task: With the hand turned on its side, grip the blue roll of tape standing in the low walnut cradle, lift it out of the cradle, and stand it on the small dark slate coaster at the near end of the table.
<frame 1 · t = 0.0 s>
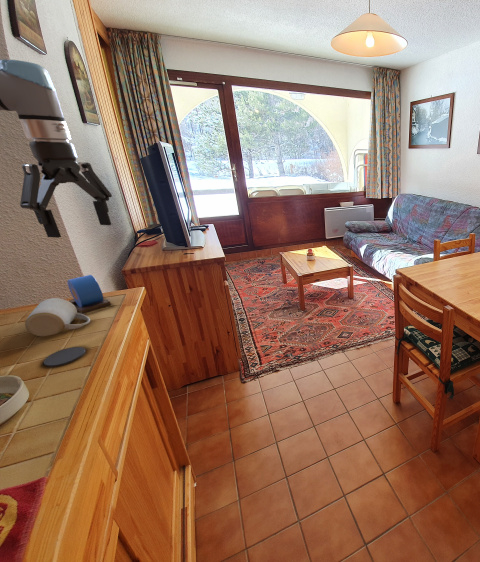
hand: (82, 230, 80), 24 cm above the worktop, tool pointing down, fingers open, 13 cm apart
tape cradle: (91, 306, 92), on the worktop
coaster: (65, 357, 69), on the worktop
ceramic mug: (64, 329, 80), on the worktop
tape roll: (90, 303, 91), point 1 cm above the worktop, touching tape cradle
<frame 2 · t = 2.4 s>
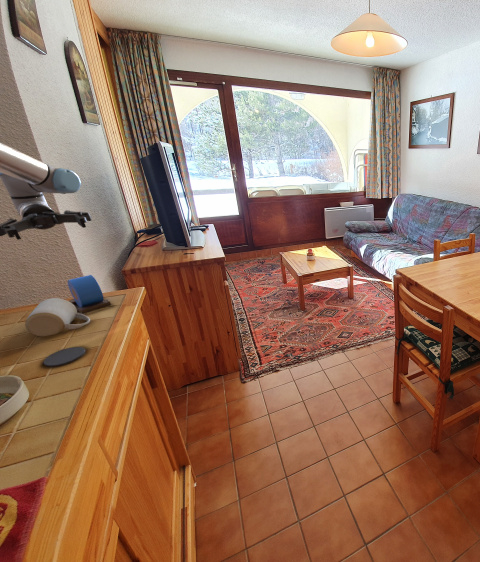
hand: (51, 228, 86), 23 cm above the worktop, tool horizontal, fingers open, 13 cm apart
nothing on the worktop moved.
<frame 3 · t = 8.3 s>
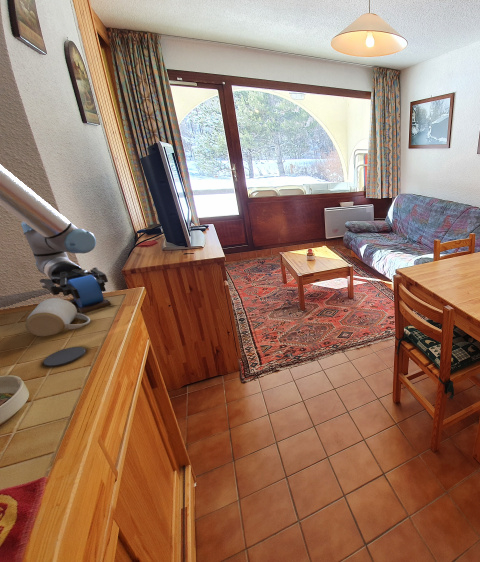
hand: (90, 290, 86), 7 cm above the worktop, tool horizontal, fingers closed on tape roll, 5 cm apart
tape roll: (90, 303, 91), point 1 cm above the worktop, touching gripper, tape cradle
everything else where it was.
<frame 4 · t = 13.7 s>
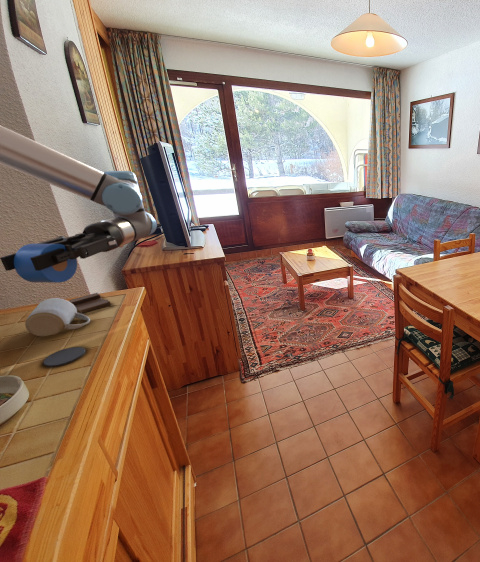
hand: (20, 264, 61), 22 cm above the worktop, tool horizontal, fingers closed on tape roll, 5 cm apart
tape roll: (55, 280, 69), point 16 cm above the worktop, touching gripper
everything else where it was.
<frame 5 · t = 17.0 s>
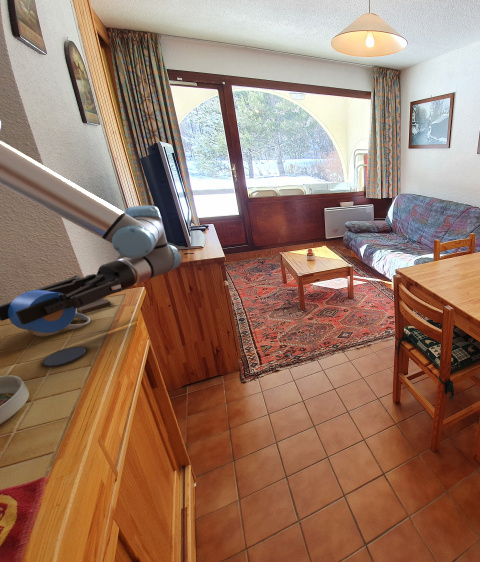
hand: (9, 316, 59), 14 cm above the worktop, tool horizontal, fingers closed on tape roll, 5 cm apart
tape roll: (52, 328, 66), point 8 cm above the worktop, touching gripper
everything else where it was.
when the fingers open (6 cm above the worktop, at t = 19.2 s): tape roll stays where it is, resting on coaster.
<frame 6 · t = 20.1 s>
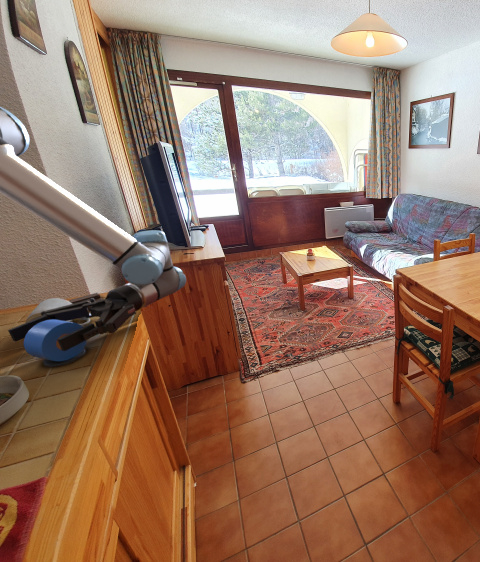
hand: (35, 340, 64), 7 cm above the worktop, tool horizontal, fingers open, 13 cm apart
tape roll: (65, 355, 69), point 1 cm above the worktop, touching coaster
everything else where it was.
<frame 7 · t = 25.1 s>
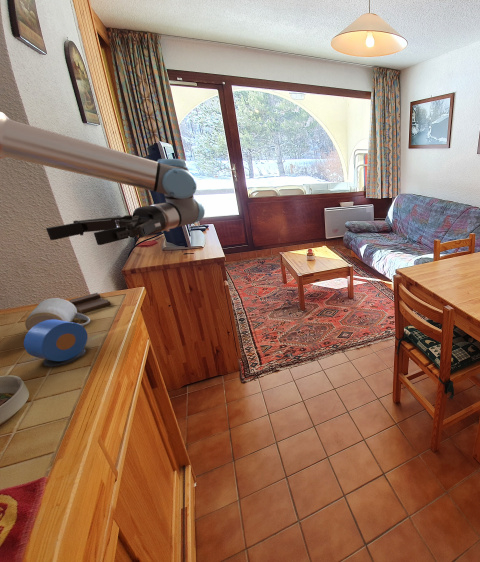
hand: (72, 236, 68), 26 cm above the worktop, tool horizontal, fingers open, 13 cm apart
nothing on the worktop moved.
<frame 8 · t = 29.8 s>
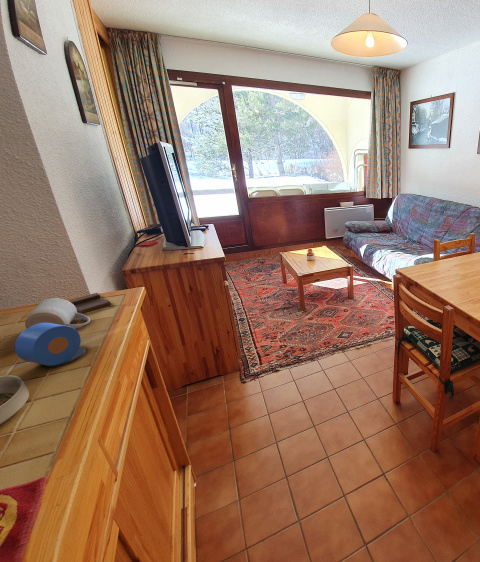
tape roll: (64, 354, 69), point 1 cm above the worktop, tilted 22°, touching coaster
everything else where it was.
at the end: tape roll inside the target area on the coaster (0.0 cm from its centre), point 0.9 cm above the coaster's base; tape roll tilted 22°; the gripper is holding nothing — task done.
